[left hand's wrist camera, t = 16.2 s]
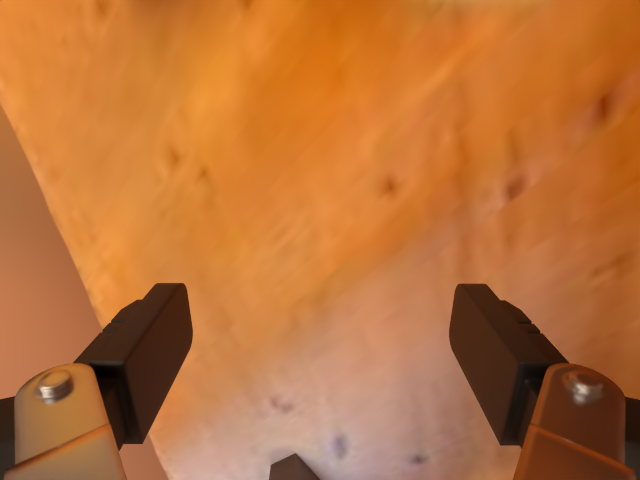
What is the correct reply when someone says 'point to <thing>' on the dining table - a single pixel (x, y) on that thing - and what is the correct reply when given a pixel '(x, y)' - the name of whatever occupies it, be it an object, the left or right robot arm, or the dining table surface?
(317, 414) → the dining table surface
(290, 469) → the bar
